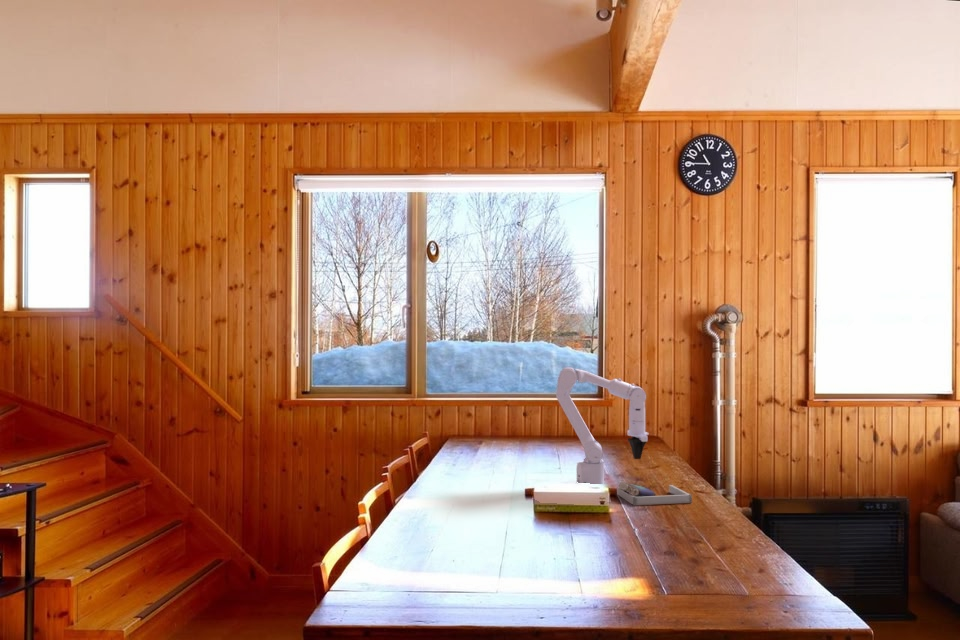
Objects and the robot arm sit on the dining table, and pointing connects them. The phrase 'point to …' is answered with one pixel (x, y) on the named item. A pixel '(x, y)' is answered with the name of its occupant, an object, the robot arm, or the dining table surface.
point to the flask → (636, 490)
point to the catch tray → (657, 497)
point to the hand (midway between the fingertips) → (637, 458)
